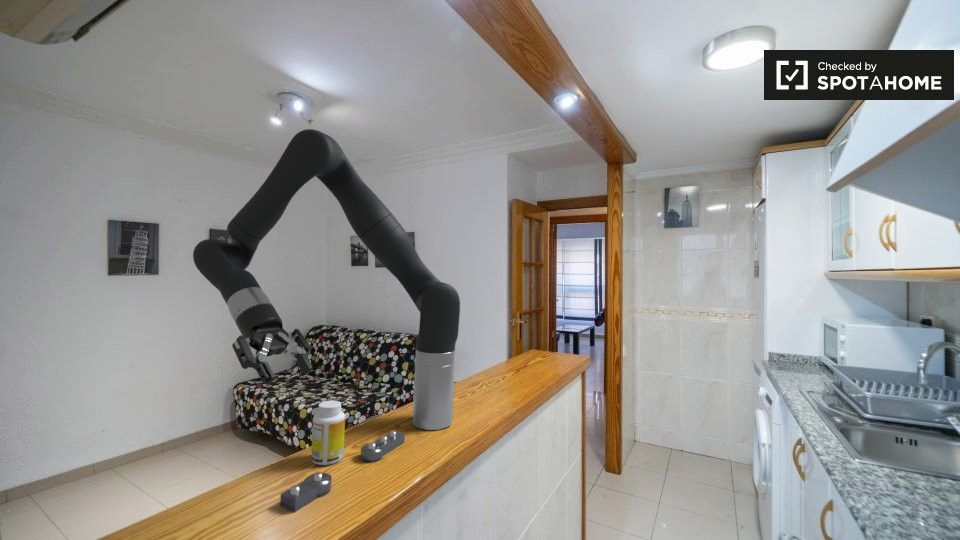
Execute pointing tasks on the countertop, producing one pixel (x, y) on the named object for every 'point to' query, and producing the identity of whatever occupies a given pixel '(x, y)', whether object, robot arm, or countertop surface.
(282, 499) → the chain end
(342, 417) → the supplement bottle
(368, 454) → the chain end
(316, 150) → the robot arm
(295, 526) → the countertop surface
